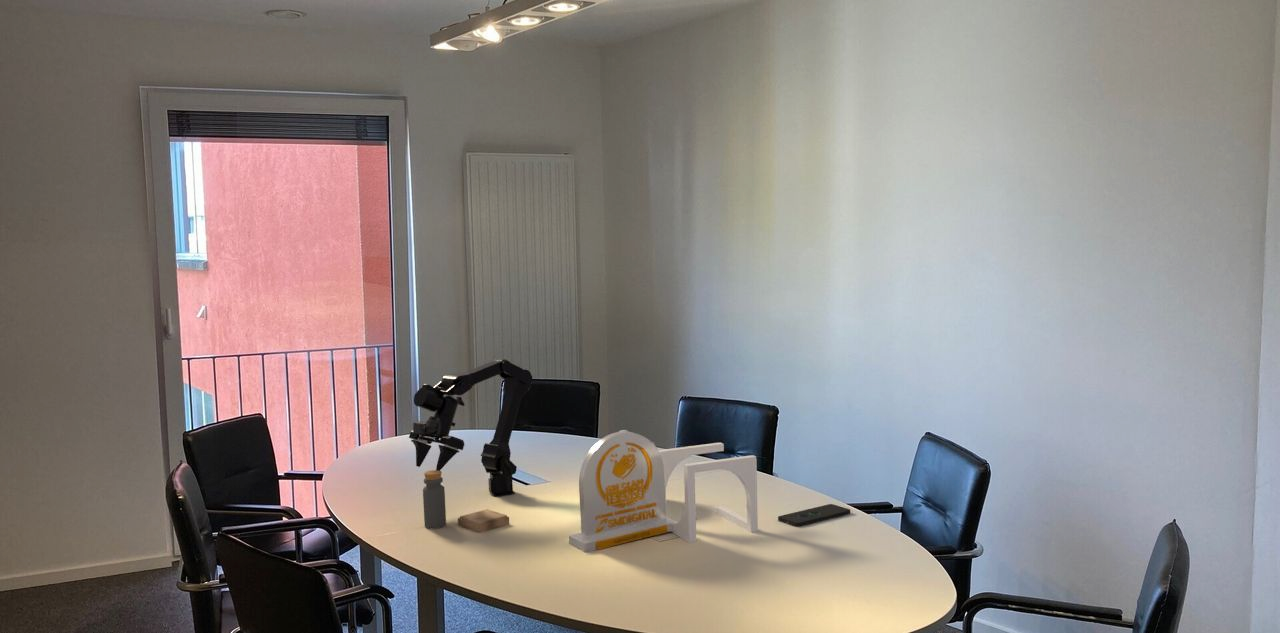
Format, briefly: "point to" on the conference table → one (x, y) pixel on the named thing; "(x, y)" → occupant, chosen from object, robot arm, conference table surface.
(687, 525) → the white arched frame
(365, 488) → the conference table surface
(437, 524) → the bottle
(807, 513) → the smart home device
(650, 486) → the award
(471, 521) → the plinth
